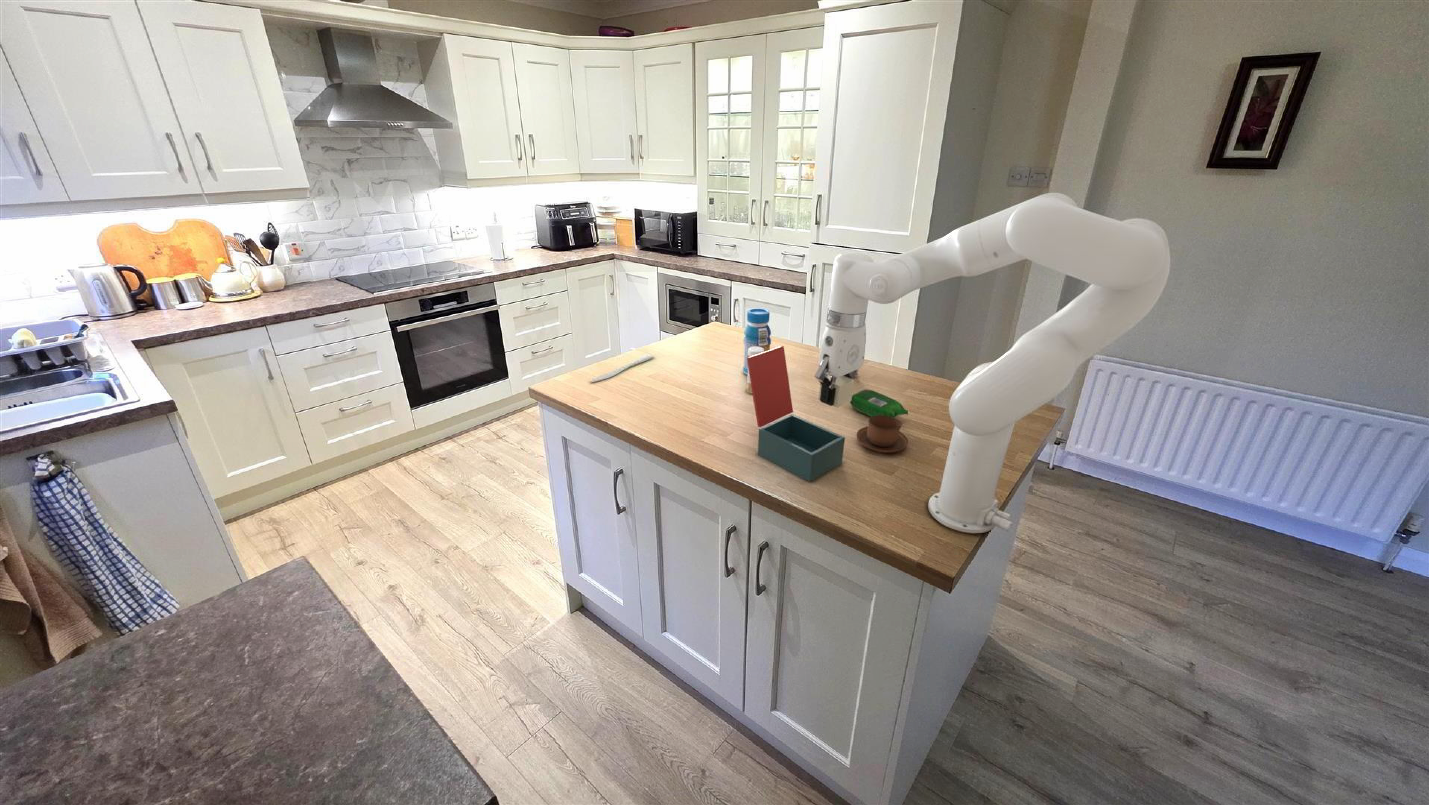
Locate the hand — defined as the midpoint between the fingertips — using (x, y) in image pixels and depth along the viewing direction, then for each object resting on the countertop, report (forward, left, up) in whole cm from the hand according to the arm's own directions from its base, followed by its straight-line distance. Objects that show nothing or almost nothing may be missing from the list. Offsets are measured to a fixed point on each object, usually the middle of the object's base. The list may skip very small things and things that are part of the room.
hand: (835, 398), depth 117 cm
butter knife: (+79, +2, -17) cm, 81 cm away
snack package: (+7, -31, -17) cm, 36 cm away
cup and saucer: (-3, -18, -17) cm, 25 cm away
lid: (+16, +2, -2) cm, 16 cm away
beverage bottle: (+49, -28, -17) cm, 59 cm away
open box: (+6, +2, -17) cm, 18 cm away
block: (0, 0, 0) cm, 0 cm away
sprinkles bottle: (+39, -17, -17) cm, 46 cm away
